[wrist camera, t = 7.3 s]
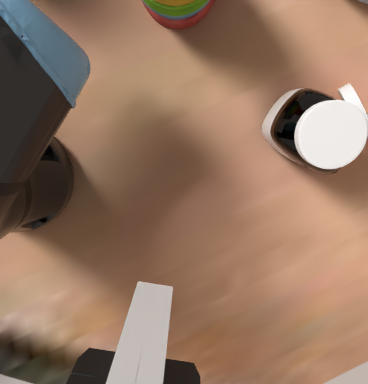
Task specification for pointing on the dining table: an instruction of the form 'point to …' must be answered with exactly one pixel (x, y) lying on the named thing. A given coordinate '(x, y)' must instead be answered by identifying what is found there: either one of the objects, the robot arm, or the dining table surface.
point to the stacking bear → (178, 11)
